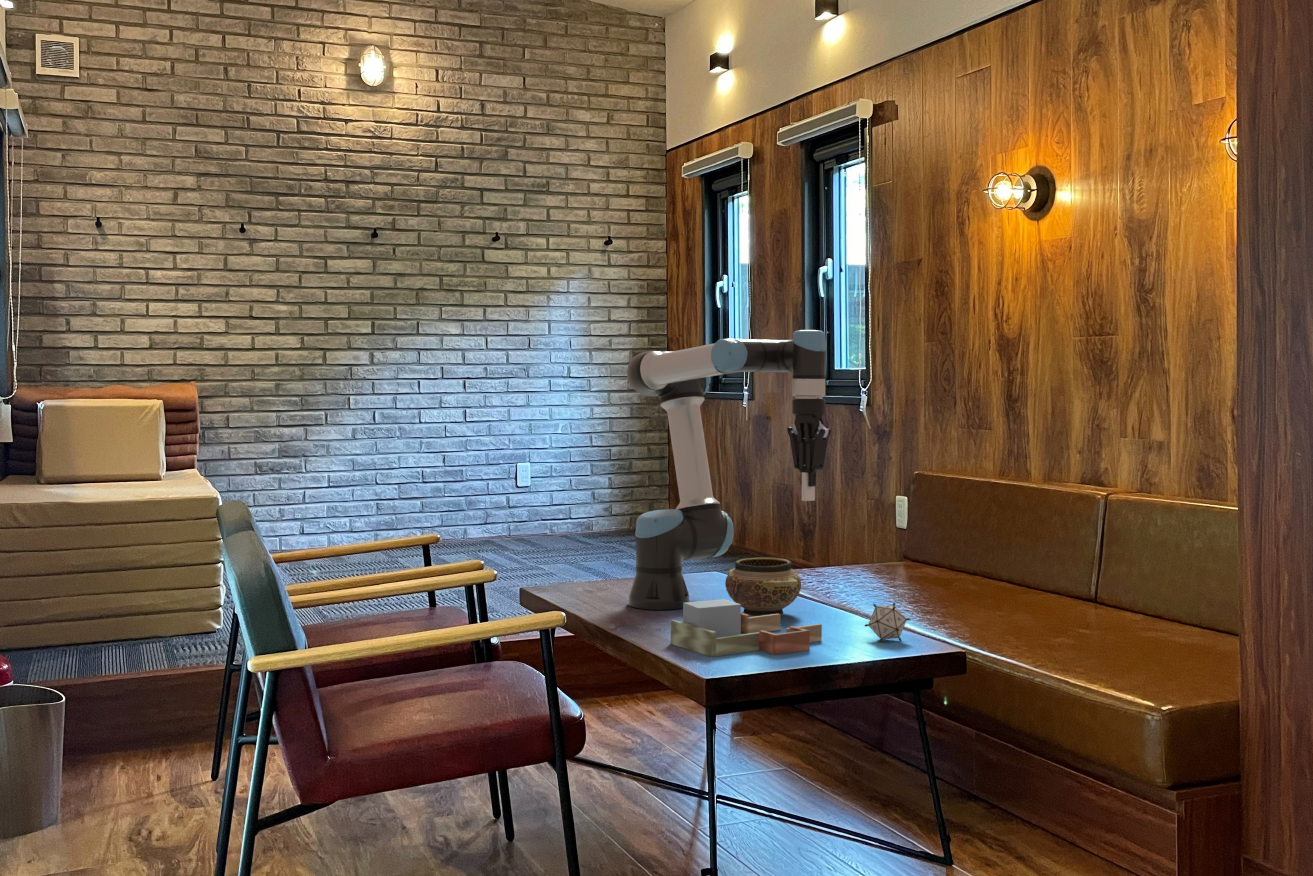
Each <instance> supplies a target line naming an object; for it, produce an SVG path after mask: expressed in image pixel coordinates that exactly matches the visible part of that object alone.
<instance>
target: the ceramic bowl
mask: <svg viewBox="0 0 1313 876" xmlns="http://www.w3.org/2000/svg"><path fill="white" fill-rule="evenodd" d="M734 565H735V567H734V568H731V569H730V570H729V571H728V572H727V576H726V578H725V583H724V584H725V589H726V592H727V594H728V596H729V597H730V599H732V600H731V601H732V602H735V603H738V604H741V609H743V613H744V614H748V615H749V617H755V616H762V615H770V614H781V616H782V615H784V611H783V609H785V608H787V607H788V606H789V605H791V604H792V603H794V601H795V600H796V599H797V597H799V594H800V592H801V588H802V580H801V578H800V575H799V574H798V573H797V571H795V570H794V569H793V568H792V561H791V560H790V559H787V558H781V557H780V558H779V557H770V556H769V557H768V556H767V557H766V556H765V557H764V556H763V557H762V556H761V557H746V558H741V559H740V558H739V559H737V560H736V561H735V562H734Z"/></svg>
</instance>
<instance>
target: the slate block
mask: <svg viewBox="0 0 1313 876" xmlns="http://www.w3.org/2000/svg"><path fill="white" fill-rule="evenodd" d="M682 609H683V610H682V622H684V623H687V624H691V625H694V626H698V627H701V628H705V629H708V630H711V631H715V632H716V638H719V637H727V636H734V635H741V613H742V612H741V611H742V607H741V604H738V603H735V602H734V601H733V600H728V599H725V598H720V599H710V600H701V601H700V600H699V601H689V602H685V603H683V608H682Z"/></svg>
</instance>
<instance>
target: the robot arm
mask: <svg viewBox="0 0 1313 876" xmlns="http://www.w3.org/2000/svg"><path fill="white" fill-rule="evenodd" d="M826 357H827V343H826V333H825V332H824V331H823V330H821V329H820V330H818V329H817V330H816V329H800V330H795V331H793V333H792V339H749V338H748V339H744V338H733V337H730V338H729V337H728V338H720V339H718V340H717V341H716V342H715V343H710V344H704V345H699V346H696V347H695V346H693V347H690V348H685V349H679V350H674V351H656V350H655V351H654V350H650V351H647V350H646V351H643V352H640V353H637V354H636V355H635V356H633V358H632V359H631V360H630V361H629V363H628V366H627V371H626V378H627V381H628V383H629V385H630V386H631V388H632V389H633V390H634V391H636V393H638V394H640V395H643V396H645V397H658V398H659V405H660V407H661V408H662V409H664V410H665V411H666V413H667V420H668V426H669V435H670V440H671V449H672V455H673V460H674V461H673V462H674V466H675V475H676V481H677V488H678V495H679V496H678V497H679V504H678V505H677V506H676V508H675V509H673V508H672V509H671V508H667V509H658V510H657V509H656V510H650V511H647V512H644V513H642V514H640V515H639V516H638V517H637V518H636V522H635V532H634V535H635V576H634V579H633V582H632V586H631V588H630V592H629V596H628V605H629V606H630V607H632V608H634V609H635V608H636V609H641V610H650V611H651V610H655V611H658V610H659V611H661V610H662V611H663V610H666V611H667V610H677V609H683V603H685V602H690V594H689V590H688V588H687V584H686V582H685V579H684V576H683V575H684V574H683V561H691V560H692V561H693V560H700V559H701V560H702V559H706V560H708V559H711V558H716V557H720V556H722V555H724V554H725V553H726V552H727V551H728V550H729V548H730V546H731V545H732V543H733V539H734V533H735V531H734V523H733V521H732V518H731V517H730V516H729V514H728V513H727V512H726V511H723V510H722V507H721V502H720V501H718V500H717V499H716V498H715V497H714V493H713V487H712V481H711V480H712V478H711V472H710V466H709V461H708V460H709V459H708V454H707V453H708V452H707V447H706V441H705V440H706V439H705V434H704V426H703V421H702V420H703V419H702V413H701V406H702V404H703V403H704V401H705V394H706V393H707V392H708V391H709V388H710V386H709V385H710V384H711V379H712V378H711V377H714V376H720V375H729V374H735V373H747V372H749V373H750V372H751V373H752V372H753V373H769V374H770V373H772V374H776V373H777V374H778V373H791V372H792V385H791V386H792V388H791V390H792V391H791V393H792V394H791V395H792V396H793V397H794V398H793V399H792V404H791V405H792V406H791V407H792V408H791V409H792V412H791V413H792V415H794V416H795V419H794V423H793V425H792V426H789V427H787V428H786V431H787V434H788V437H789V440H790V441H789V442H790V448H791V455H792V461H793V468H794V469H797V470H798V471H799V472H800V486H801V501H802V502H811V501H812V502H814V501H816V500H815V499H816V486H817V473H818V471H821V470H824V466H825V465H824V464H825V459H826V454H827V453H826V452H827V447H828V441H829V438H830V436H831V432H832V429H831V428H826V427H825V425H824V424H825V423H824V420H823V416H824V415H825V414H826V400H825V398H823V397H825V396H826V365H827V364H826V361H827V360H826V359H827V358H826Z"/></svg>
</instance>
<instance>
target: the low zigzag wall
mask: <svg viewBox="0 0 1313 876" xmlns="http://www.w3.org/2000/svg"><path fill="white" fill-rule="evenodd" d="M781 616H782V615H781V614H770V615H762V616H755V617H751V616H749V615H748V614H744V612H741V635H734V636H727V637H719V638H716V632H715V631H711V630H708V629H705V628H701V627H698V626H694V625H691V624H687V623H684V622H683V621H681V620H680V621H679V620H676V619H671V620H670V645H673V646H676V647H679V648H683V649H687V650H689V651H692V652H696V653H698V654H701V655H704V656H707V657H710V658H714V657H720V656H728V655H735V654H739V653H740V654H741V653H747V652H748V653H749V652H754V651H761V652H765V653H769V654H771V655H785V654H790V653H796V652H804V651H810V647H811V646H810V645H811V644H810V643H815V642H820V641H821V642H822V639H823V637H822V636H823V633H822V632H823V630H822V628H823V625H822V624H821V623H816V624H815V623H814V624H807V625H800V626H794V625H793V626H792V625H791V626H789V627H786V629H785V632H781V633H774V632H775V631H779V630H781V620H782V619H781ZM773 631H774V632H773Z"/></svg>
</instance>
